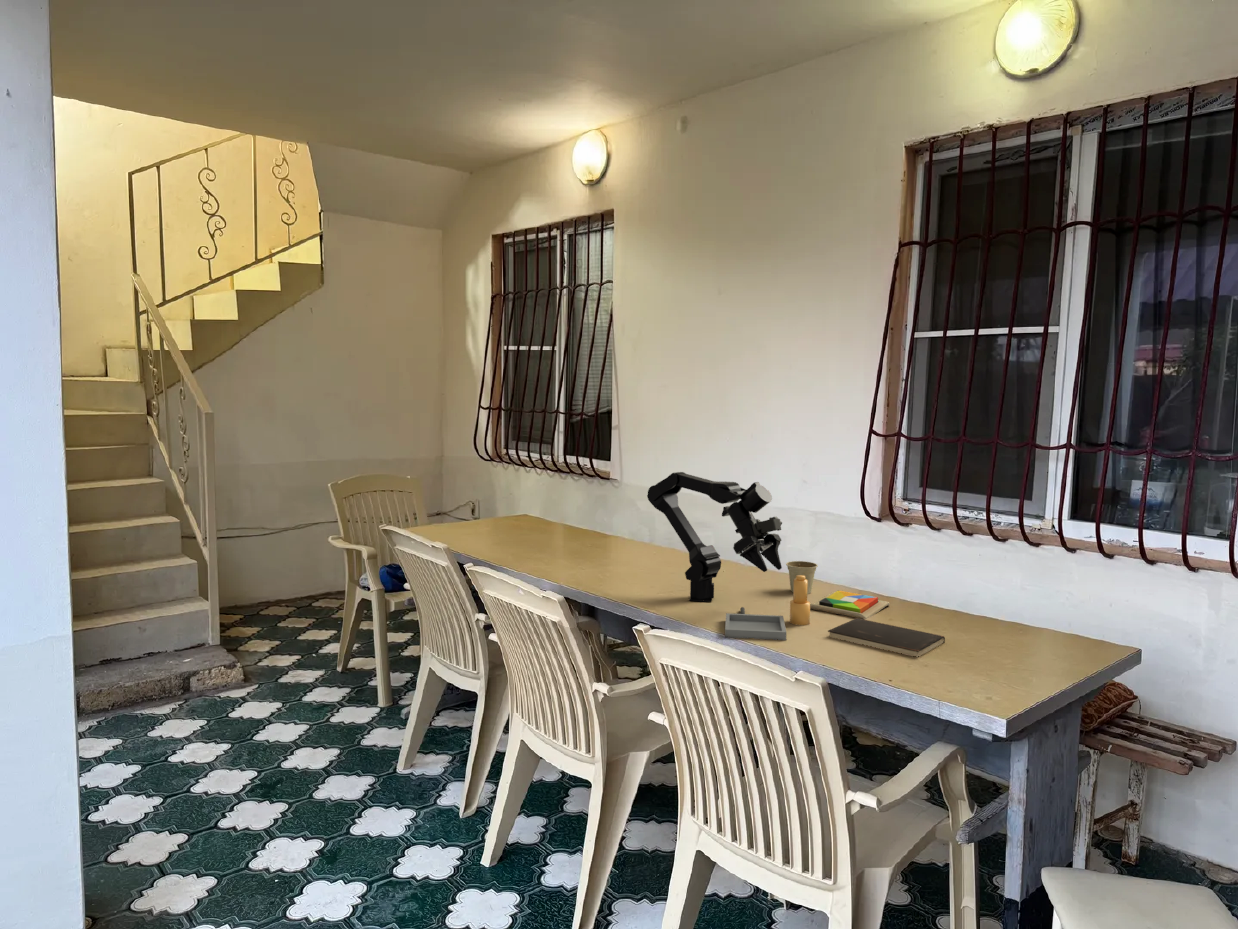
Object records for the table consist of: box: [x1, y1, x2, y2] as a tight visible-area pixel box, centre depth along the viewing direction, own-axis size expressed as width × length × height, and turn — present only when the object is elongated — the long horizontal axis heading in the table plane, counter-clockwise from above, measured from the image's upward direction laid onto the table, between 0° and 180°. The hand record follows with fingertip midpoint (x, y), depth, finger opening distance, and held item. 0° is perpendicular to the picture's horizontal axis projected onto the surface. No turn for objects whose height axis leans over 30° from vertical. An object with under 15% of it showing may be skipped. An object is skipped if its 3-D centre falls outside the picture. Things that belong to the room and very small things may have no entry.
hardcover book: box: [827, 617, 946, 658], centre depth 201 cm, size 16×23×2 cm
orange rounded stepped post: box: [789, 575, 811, 626], centre depth 215 cm, size 5×5×12 cm
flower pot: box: [785, 560, 819, 595], centre depth 249 cm, size 9×9×9 cm
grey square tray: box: [724, 612, 787, 641], centre depth 209 cm, size 15×15×2 cm
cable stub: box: [739, 606, 746, 614], centre depth 222 cm, size 1×10×1 cm, turn 172°
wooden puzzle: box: [810, 590, 891, 620], centre depth 232 cm, size 18×19×4 cm
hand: (773, 570), depth 221 cm, fingers open, 9 cm apart
